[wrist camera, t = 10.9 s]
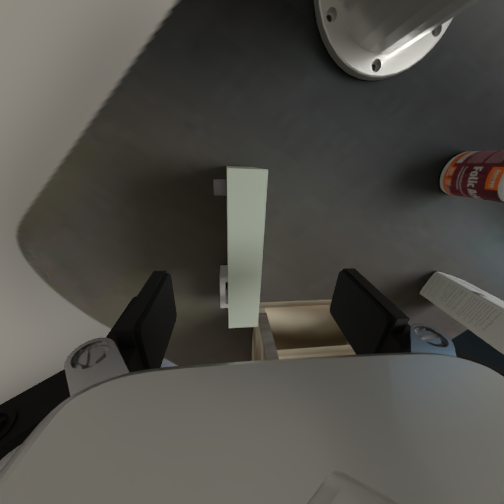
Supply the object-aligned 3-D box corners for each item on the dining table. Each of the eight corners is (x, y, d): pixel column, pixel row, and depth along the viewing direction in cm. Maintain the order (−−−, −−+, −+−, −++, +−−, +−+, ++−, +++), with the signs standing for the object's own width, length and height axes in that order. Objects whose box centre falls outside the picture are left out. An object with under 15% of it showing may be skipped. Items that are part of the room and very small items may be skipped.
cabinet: (232, 277, 26) (238, 404, 12) (368, 274, 28) (500, 376, 15) (232, 364, 32) (236, 510, 19) (343, 355, 35) (418, 479, 21)
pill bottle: (434, 167, 23) (536, 168, 16) (474, 142, 23) (600, 132, 15) (440, 202, 25) (533, 219, 18) (478, 180, 25) (590, 188, 17)
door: (216, 165, 21) (209, 167, 11) (258, 167, 21) (283, 170, 12) (220, 293, 27) (217, 360, 18) (252, 292, 27) (265, 356, 18)
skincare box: (462, 278, 31) (594, 342, 20) (443, 302, 32) (555, 373, 21) (433, 269, 29) (557, 333, 18) (415, 294, 31) (519, 366, 20)
